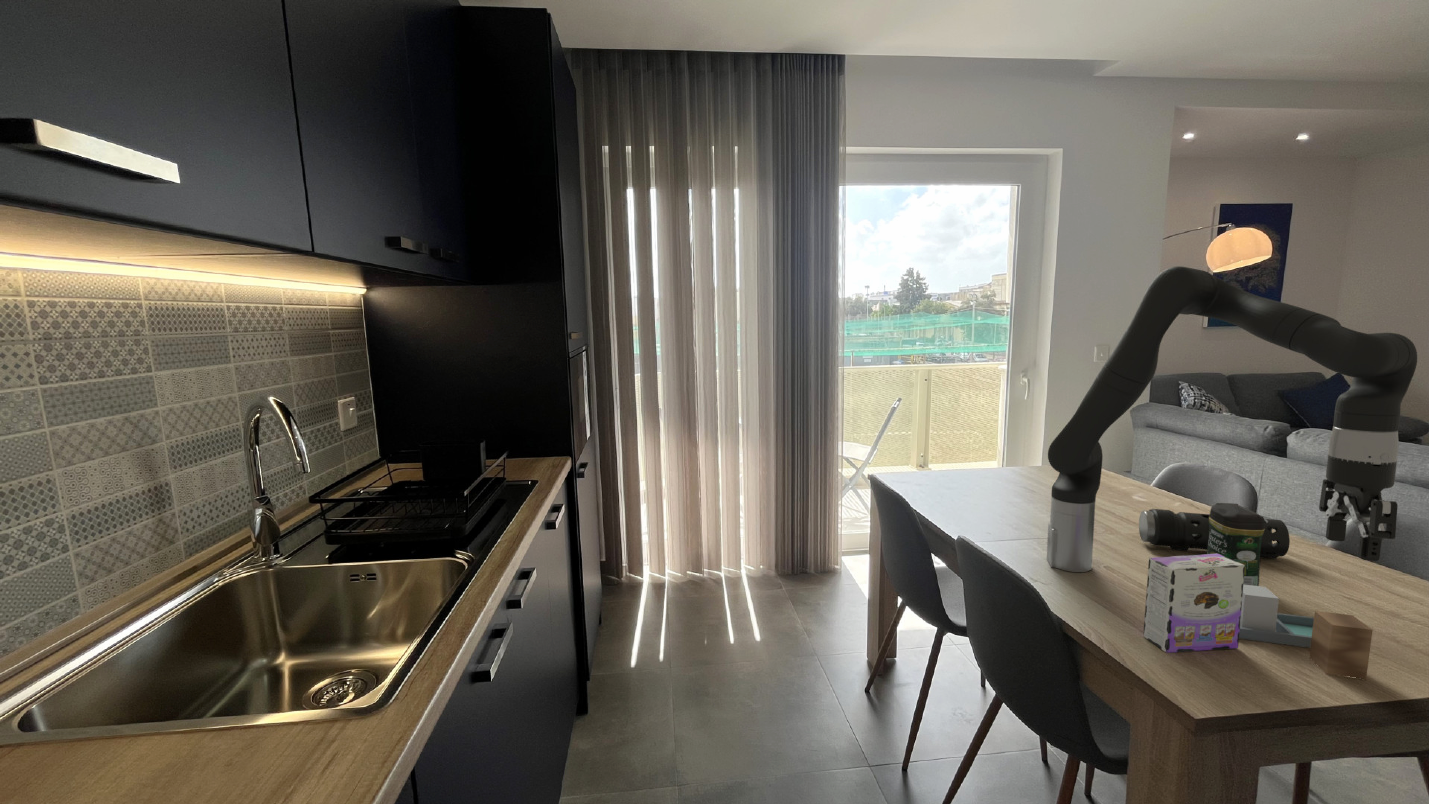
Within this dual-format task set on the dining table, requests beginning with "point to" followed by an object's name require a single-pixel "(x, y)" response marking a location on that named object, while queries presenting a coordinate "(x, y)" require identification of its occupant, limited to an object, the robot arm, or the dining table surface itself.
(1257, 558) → the coffee jar
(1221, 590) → the candy box
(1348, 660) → the walnut plug
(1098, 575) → the dining table surface
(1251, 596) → the divider rack
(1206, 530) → the muzzle brake
